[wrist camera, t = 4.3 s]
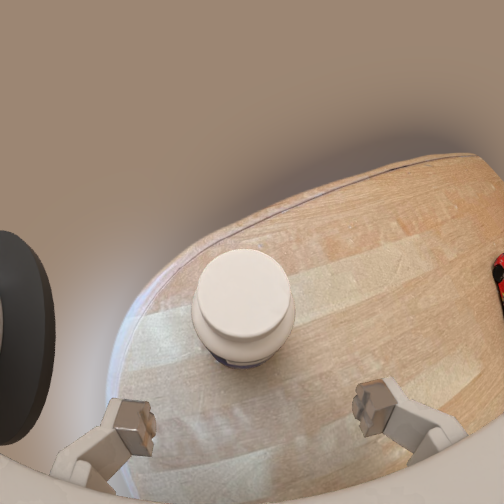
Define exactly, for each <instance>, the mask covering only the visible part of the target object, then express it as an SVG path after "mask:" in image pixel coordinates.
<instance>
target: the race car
mask: <svg viewBox="0 0 504 504" xmlns="http://www.w3.org/2000/svg"><path fill="white" fill-rule="evenodd" d="M494 266H496V267H495V269H494V272H493V276H494V279H495V280H496V281H497V282H501V281H502V282H501V283H499V284H498V285H499V289H500V293H501V296H502V300H503V305H504V253H502V254H501V255H500V256H499V257H498V258H497V259H496V261H495V265H494Z"/></svg>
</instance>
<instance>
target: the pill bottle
mask: <svg viewBox="0 0 504 504" xmlns="http://www.w3.org/2000/svg"><path fill="white" fill-rule="evenodd" d="M191 316H192V321H193V325H194V328H195V330H196V333H197V335H198V337H199V338H200V340H201V341H202V343H203V344H204V345H205V347H206V348H207V349H208V350H209V352H210V353H211V354H212V355H213V356H214V357H215V358H216V359H217V360H218V361H219V362H221V363H222V364H224V365H226V366H228V367H230V368H234V369H251V368H255V367H257V366H260V365H261V364H263V363H265V362H266V361H267V360H269V359H270V358H271V357H272V356H273V355H274V354H275V353H276V352H277V351H278V350H279V349H280V348H281V347H282V345H283V344H284V343H285V342H286V340H287V338H288V337H289V335H290V333H291V331H292V328H293V325H294V321H295V303H294V299H293V296H292V293H291V287H290V283H289V279H288V277H287V275H286V273H285V271H284V269H283V268H282V267H281V266H280V264H279V263H278V262H277V261H275V260H274V259H273V258H272V257H270V256H268V255H267V254H264V253H262V252H260V251H256V250H251V249H236V250H231V251H228V252H225V253H223V254H221V255H219V256H217V257H216V258H215V259H213V260H212V261H211V262H210V263H209V264H208V265H207V266H206V268H205V269H204V270H203V272H202V274H201V276H200V278H199V281H198V286H197V289H196V291H195V294H194V296H193V300H192V306H191Z"/></svg>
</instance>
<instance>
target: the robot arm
mask: <svg viewBox="0 0 504 504" xmlns="http://www.w3.org/2000/svg"><path fill="white" fill-rule="evenodd" d="M2 337H3V311H2V304H1V299H0V351H1V345H2ZM355 391H356V393H357V395H356V396H355V397H354V398H353V401H352V411H353V414H354V417H355V419H357V420H359V421H361V422H360V425H359V427H360V429H361V431H362V433H363V435H364V437H369V436H372V435H376V434H380V433H383V434H384V435H386V436H387V437H389V438H390V439H392V440H393V441H395V442H396V443H398V444H399V445H401V446H402V447H404V448H405V449H407V450H409V451H410V452H412V453H413V455H412V456H411V458H410V459H409V461H408V462H407V466H408V467H406V468H404V469H401V470H399V471H396V472H393V473H391V474H388V475H385V476H383V477H380V478H377V479H374V480H371V481H368V482H365V483H362V484H358V485H355V486H352V487H348V488H344V489H341V490H337V491H333V492H328V493H324V494H319V495H315V496H310V497H304V498H299V499H292V500H286V501H278V502H270V503H260V504H504V412H503V413H502V414H500V415H499V416H498V417H496V418H495V419H493V420H492V421H490V422H489V423H487V424H486V425H485V426H483V427H481V428H480V429H478V430H477V431H475V432H474V433H472V434H470V435H468V434H467V433H466V431H465V430H464V429H463V427H462V426H461V425H460V423H459V422H458V421H457V419H456V418H455V417H453V416H451V415H448V414H446V413H444V412H441V411H439V410H436V409H434V408H432V407H429V406H427V405H425V404H422V403H420V402H418V401H415V400H413V399H411V400H409V399H408V397H407V396H406V394H405V393H404V392H403V390H402V389H401V387H400V386H399V385H398V383H397V382H396V380H395V379H394V378H393V377H392V376H388V377H385V378H381V379H377V380H373V381H369V382H365V383H361V384H358V385H357V387H356V390H355ZM150 409H151V407H150V404H149V402H147V401H138V400H128V399H119V398H112V399H111V400H110V401H109V404H108V406H107V409H106V411H105V414H104V417H103V419H102V422H101V424H100V426H96V427H95V428H93V429H92V430H90V431H89V432H87V433H86V434H85V435H83V436H82V437H80V438H79V439H77V440H76V441H75V442H73V443H72V444H70V445H69V446H67V447H66V448H64V449H63V450H61V451H60V452H59V453H58V454H57V457H56V459H55V462H54V464H53V467H52V469H51V471H50V474H49V475H46V474H44V473H41V472H39V471H36V470H34V469H32V468H29V467H27V466H25V465H23V464H21V463H19V462H16V461H14V460H12V459H10V458H8V457H6V456H4V455H3V454H1V453H0V504H171V503H161V502H153V501H146V500H139V499H133V498H128V497H122V496H117V495H116V492H115V490H114V489H113V488H112V487H111V486H110V485H109V484H108V483H107V481H108V480H109V479H110V478H111V477H112V476H113V475H114V474H115V473H116V472H117V471H118V470H119V469H120V468H121V467H122V466H123V465H124V464H125V463H126V462H127V460H128V459H129V458H130V457H131V455H136V456H147V457H152V451H153V446H154V444H153V441H152V438H153V437H155V435H156V420H155V416H154V414H152V413H151V412H150Z"/></svg>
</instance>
